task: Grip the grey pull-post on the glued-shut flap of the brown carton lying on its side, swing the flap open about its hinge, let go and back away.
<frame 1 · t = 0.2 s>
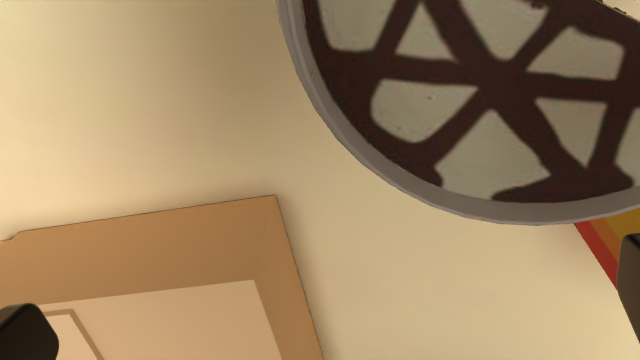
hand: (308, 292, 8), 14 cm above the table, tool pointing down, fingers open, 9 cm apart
carton: (187, 313, 28), on the table
food container: (428, 14, 19), on the table
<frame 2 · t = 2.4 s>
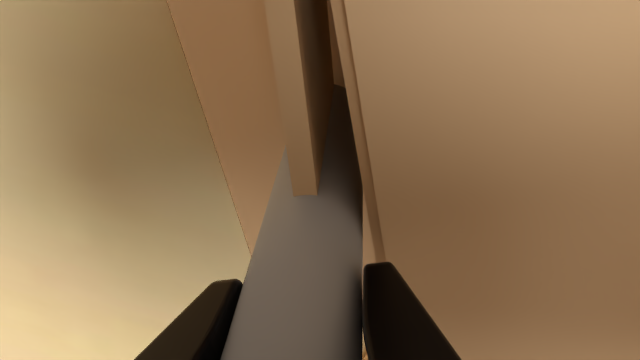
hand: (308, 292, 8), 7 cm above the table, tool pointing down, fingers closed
flap: (296, 97, 8), point 6 cm above the table, hinge at 5.2°, touching gripper
carton: (638, 97, 13), on the table
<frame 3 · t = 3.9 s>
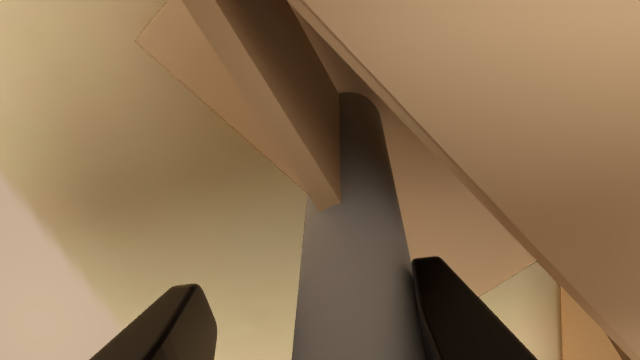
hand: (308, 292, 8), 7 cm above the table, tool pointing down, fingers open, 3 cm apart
flap: (284, 121, 8), point 6 cm above the table, hinge at 15.5°, touching gripper
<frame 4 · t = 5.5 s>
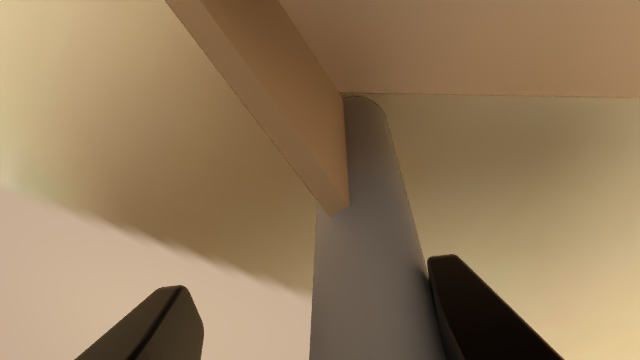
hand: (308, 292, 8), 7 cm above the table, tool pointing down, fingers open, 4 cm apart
flap: (287, 128, 8), point 6 cm above the table, hinge at 56.0°, touching gripper
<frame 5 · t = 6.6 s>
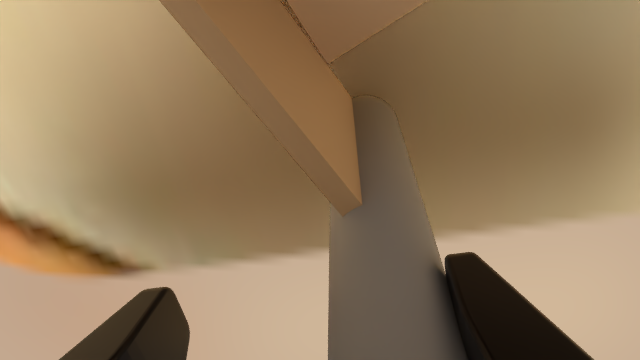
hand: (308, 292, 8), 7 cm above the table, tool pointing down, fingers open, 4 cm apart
flap: (296, 131, 8), point 6 cm above the table, hinge at 86.5°, touching gripper
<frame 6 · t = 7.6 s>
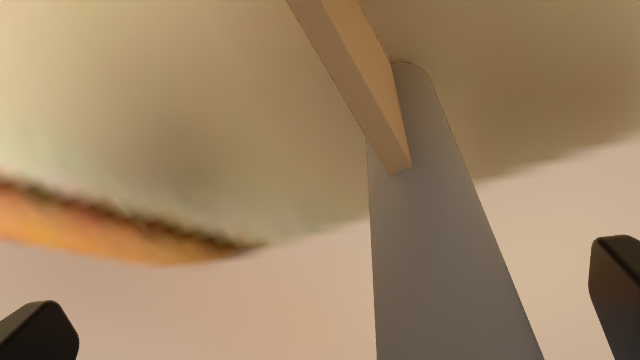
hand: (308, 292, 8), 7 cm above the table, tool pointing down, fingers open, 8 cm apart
flap: (353, 80, 8), point 6 cm above the table, hinge at 105.8°
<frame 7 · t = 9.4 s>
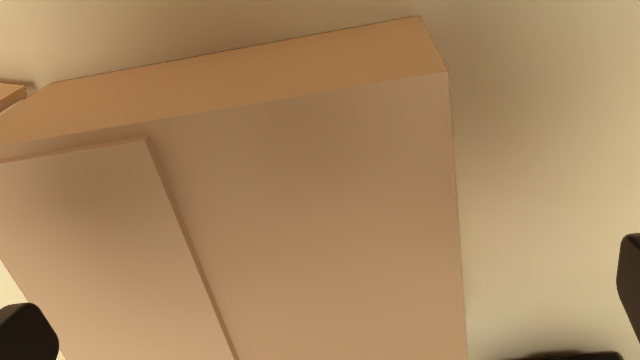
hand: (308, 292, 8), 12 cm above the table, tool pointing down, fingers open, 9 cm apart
carton: (270, 210, 21), on the table
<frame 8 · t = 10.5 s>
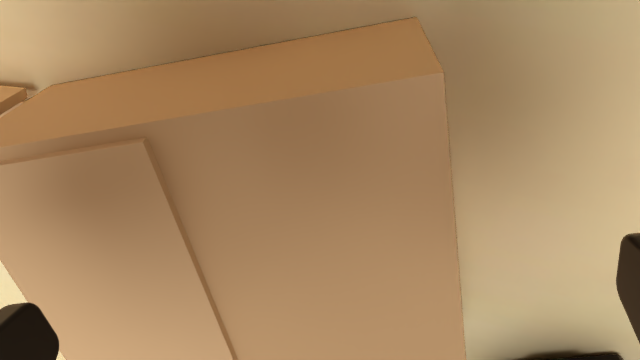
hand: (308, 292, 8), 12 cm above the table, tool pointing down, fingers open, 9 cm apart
carton: (269, 211, 21), on the table
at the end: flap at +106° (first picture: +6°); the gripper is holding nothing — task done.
